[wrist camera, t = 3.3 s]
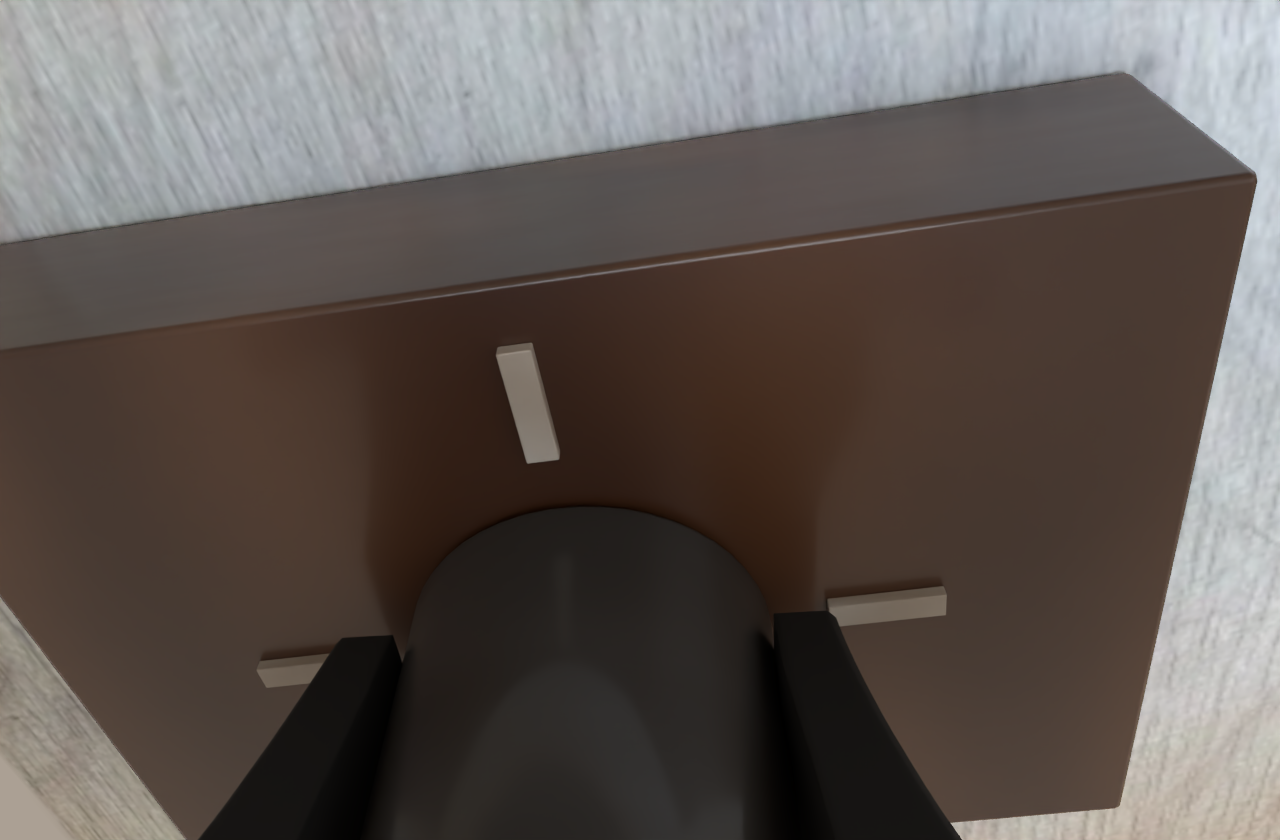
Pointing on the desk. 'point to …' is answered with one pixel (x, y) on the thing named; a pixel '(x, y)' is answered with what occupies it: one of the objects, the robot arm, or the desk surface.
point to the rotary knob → (587, 691)
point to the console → (646, 417)
